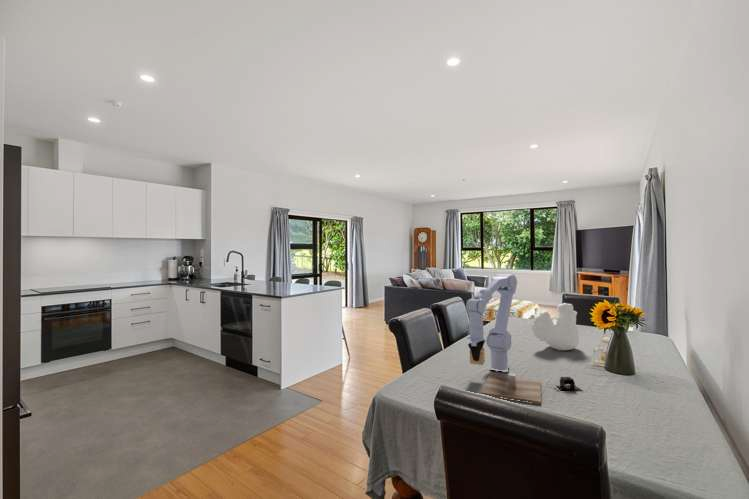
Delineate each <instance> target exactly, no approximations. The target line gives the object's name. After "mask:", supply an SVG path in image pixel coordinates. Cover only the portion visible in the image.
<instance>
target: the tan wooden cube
mask: <svg viewBox="0 0 749 499" xmlns="http://www.w3.org/2000/svg"><path fill="white" fill-rule="evenodd" d="M485 361H486V360H485V347H483V348H481V351H480V357H479V361H474V360H473V357H472V353H471V350H470V349H469V364H471V365H481V366H483V365H484V364H485Z"/></svg>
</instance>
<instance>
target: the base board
mask: <svg viewBox="0 0 749 499" xmlns="http://www.w3.org/2000/svg"><path fill="white" fill-rule="evenodd" d="M482 394H485V395H489V396H493V397H497V398H496V399H499V398H500V397H503V398H502V399H501V400H505V399H504V398H507V399H509V400H508V401H511V400H510V399H514V401H513V402H517V401H516V400H520V401H525V402H526V401H528V402H532V403H534V404H533V405H537V404H539V406H541V405H542V384H541V381H540V380H534V379H526V378H518V377H516V388H509V386H508V376H502V375H496V374H495V375H494V374H488V376H487V378H486V382H485V385H484V386H483V389H482V392H481V395H482ZM493 397H492V398H493Z"/></svg>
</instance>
